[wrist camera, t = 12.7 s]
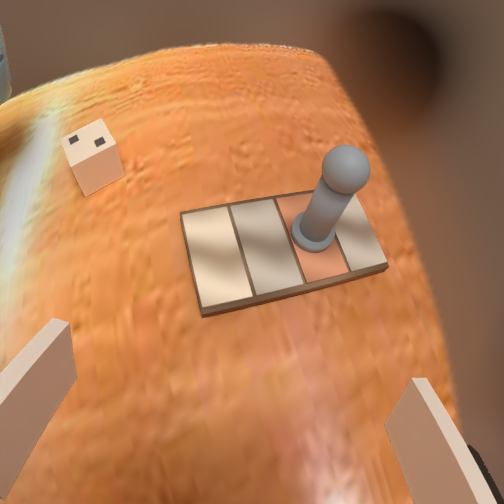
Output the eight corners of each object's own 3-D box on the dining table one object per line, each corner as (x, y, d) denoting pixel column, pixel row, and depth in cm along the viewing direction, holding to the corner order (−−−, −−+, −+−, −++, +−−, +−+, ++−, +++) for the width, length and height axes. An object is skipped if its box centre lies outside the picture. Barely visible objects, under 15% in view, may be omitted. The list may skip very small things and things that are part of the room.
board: (180, 218, 37) (179, 210, 35) (346, 191, 42) (351, 183, 40) (202, 318, 32) (201, 313, 30) (383, 271, 37) (390, 265, 35)
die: (73, 168, 38) (59, 138, 33) (110, 149, 40) (101, 117, 35) (85, 197, 37) (70, 166, 31) (125, 175, 39) (115, 142, 33)
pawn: (285, 219, 36) (317, 133, 24) (322, 213, 37) (364, 131, 26) (298, 256, 34) (341, 178, 23) (337, 248, 35) (391, 173, 24)
